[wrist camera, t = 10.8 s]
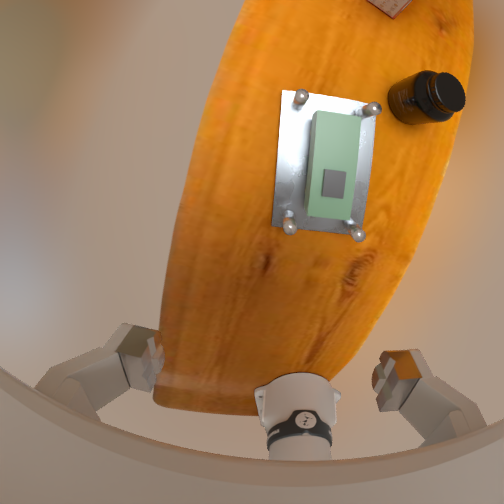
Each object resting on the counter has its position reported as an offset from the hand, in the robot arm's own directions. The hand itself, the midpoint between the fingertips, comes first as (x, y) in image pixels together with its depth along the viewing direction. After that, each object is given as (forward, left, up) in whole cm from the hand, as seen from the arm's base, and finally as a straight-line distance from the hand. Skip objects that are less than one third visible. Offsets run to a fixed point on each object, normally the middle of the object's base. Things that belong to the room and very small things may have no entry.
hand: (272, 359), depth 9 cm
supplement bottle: (+17, -18, -31) cm, 40 cm away
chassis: (+5, -6, -31) cm, 32 cm away
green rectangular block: (+6, -6, -27) cm, 29 cm away
